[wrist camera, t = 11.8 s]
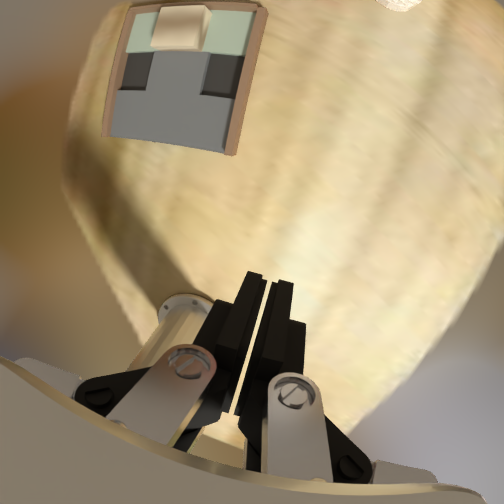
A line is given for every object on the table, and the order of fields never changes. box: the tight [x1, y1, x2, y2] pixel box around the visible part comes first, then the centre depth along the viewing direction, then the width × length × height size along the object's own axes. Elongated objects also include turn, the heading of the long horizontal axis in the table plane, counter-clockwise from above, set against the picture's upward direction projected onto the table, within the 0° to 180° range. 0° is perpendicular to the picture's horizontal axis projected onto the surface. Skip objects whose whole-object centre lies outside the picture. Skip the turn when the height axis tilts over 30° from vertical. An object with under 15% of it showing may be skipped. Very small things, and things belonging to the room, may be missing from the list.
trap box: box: [101, 2, 268, 156], centre depth 30 cm, size 20×20×3 cm
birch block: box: [150, 5, 212, 52], centre depth 27 cm, size 6×6×3 cm
